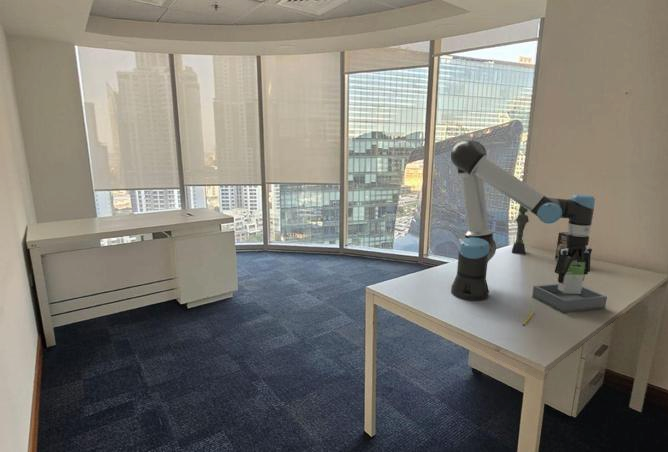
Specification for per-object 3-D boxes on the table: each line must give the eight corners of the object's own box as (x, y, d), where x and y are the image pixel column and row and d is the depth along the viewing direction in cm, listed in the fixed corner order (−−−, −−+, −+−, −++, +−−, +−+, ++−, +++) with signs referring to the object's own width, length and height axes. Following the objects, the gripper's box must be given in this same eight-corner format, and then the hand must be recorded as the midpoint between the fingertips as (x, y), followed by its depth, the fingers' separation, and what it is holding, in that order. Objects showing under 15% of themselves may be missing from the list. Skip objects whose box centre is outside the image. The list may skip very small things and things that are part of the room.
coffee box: (554, 260, 211) (558, 232, 207) (562, 259, 212) (567, 231, 209) (568, 265, 202) (572, 236, 199) (577, 264, 204) (582, 235, 200)
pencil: (521, 326, 133) (521, 323, 133) (531, 313, 144) (531, 311, 143) (524, 327, 133) (524, 324, 132) (534, 314, 143) (534, 312, 143)
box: (563, 313, 144) (565, 301, 142) (532, 297, 159) (533, 285, 158) (605, 308, 148) (607, 296, 147) (570, 293, 164) (572, 282, 163)
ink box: (575, 290, 154) (580, 259, 151) (580, 294, 150) (586, 262, 147) (557, 290, 155) (562, 258, 152) (562, 293, 151) (567, 261, 148)
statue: (524, 251, 228) (531, 202, 221) (525, 254, 221) (531, 204, 215) (511, 250, 231) (517, 201, 224) (512, 253, 224) (517, 203, 218)
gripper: (564, 238, 141) (556, 295, 146) (607, 235, 146) (598, 290, 151) (548, 233, 148) (541, 288, 153) (590, 231, 154) (581, 284, 158)
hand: (569, 289), depth 152 cm, fingers closed on ink box, 8 cm apart
